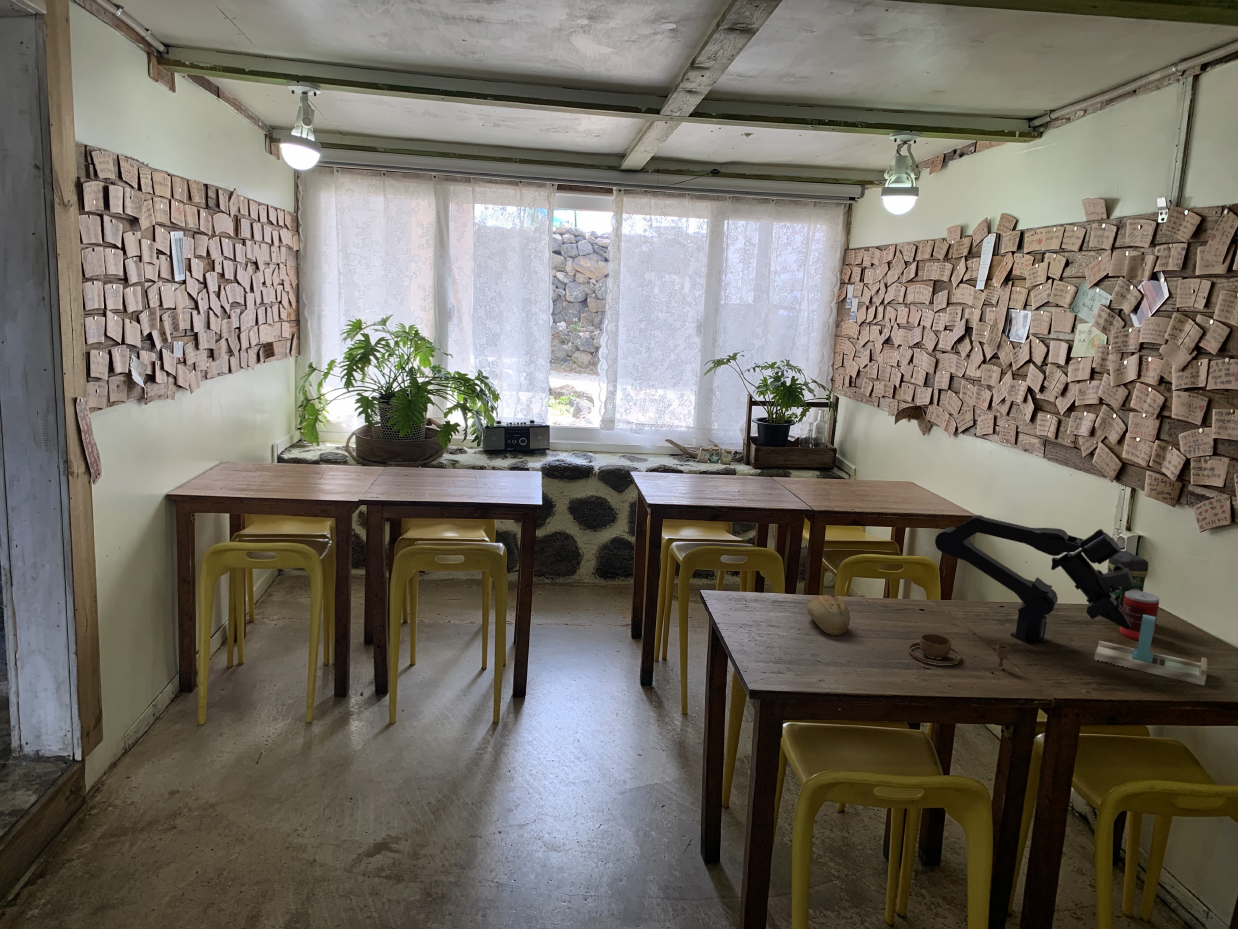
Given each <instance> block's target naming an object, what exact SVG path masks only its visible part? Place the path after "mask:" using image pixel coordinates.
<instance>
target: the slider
mask: <svg viewBox="0 0 1238 929" xmlns="http://www.w3.org/2000/svg"><path fill="white" fill-rule="evenodd" d="M1154 623H1155V617H1154V616H1149V615H1144V614H1143V618H1142V624H1141V630H1140V636H1139V641H1138V643H1137V648H1134V651H1133V656H1132V659H1134V660H1139V661H1143V662H1147V663H1152V659H1153V653H1154V652H1152V651H1151V646H1152V642H1153V641H1152V640H1153V638H1152V636H1153V637H1154V635H1153V629H1154ZM1154 630H1155V629H1154Z"/></svg>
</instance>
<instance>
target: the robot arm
mask: <svg viewBox="0 0 1238 929" xmlns="http://www.w3.org/2000/svg"><path fill="white" fill-rule="evenodd" d="M978 533H979V534H982V535H987V536H991V537H995V538H1000V539H1004V540H1008V541H1013V542H1015V543H1021V544H1025V545H1026V546H1030V547H1032V548H1034V549H1035V550H1037V551H1039V552H1041V553H1043V554H1046V555H1048V556H1051V557H1052V558H1051V568H1050V569H1051V570H1052V571H1054V570H1056V569H1058V568H1059V567H1060V568H1061V569H1062V570H1063V572H1064V573H1065V574H1066V575H1067V576H1068V577H1069V578H1070V580H1071V581H1073V583H1074V584H1075V585H1074V588H1075V589H1076V590H1077V591H1078V590H1080V592H1081V593H1082V594H1083V595H1084V596H1085V597H1086V598H1087V599H1085V600H1086V602H1087V603H1088V605H1087V607H1086V612H1085V613H1086V614H1087V616H1089V618H1090V619H1091V620H1093V619H1096V618H1098V617H1099V616H1100V617H1102V618H1104V619H1106V620H1108V621H1110V622H1112V623H1114V624H1116V625H1117V626H1119V627H1120V626H1121V627H1123V628H1125V629H1129V628H1131V625H1130V623H1129V621H1128V619H1127V617H1126V615H1125V613H1124V612H1123V610H1122V607H1121V605H1120V600H1121V594H1120V595H1118V596H1116V597H1115V596H1114V595H1112V594H1111V593H1112V592H1114V591H1116V590H1117V589H1118V590H1121V588H1122V587H1123V586H1125V587H1127V586H1131V585H1133V582H1134V581H1133V578H1132V576H1131V572H1130V570H1129V569H1128V568H1126V569H1125V568H1124V567H1123V566H1122V565H1121V564H1120V565H1115V566H1114V568H1113V572H1111V571H1110V572H1109V573H1108V572H1105V573H1104V572H1103V571H1102V570H1101V569H1097V568H1095V567H1094V566H1093V565H1092V564H1099V565H1101V564H1103V563H1104V562H1106V561H1109V559H1110V558H1111V557H1113V556H1115V555H1116V554H1118V553H1120V552H1121V551H1122V549H1121V547H1120V545H1119V544H1118V542H1117V541H1116V540H1115V539H1114V538H1113V537H1112V536H1110V534H1108V533H1107V532H1105V531H1104V530H1103V529H1102V528H1099V529H1098V530H1096V531H1095V532H1094V533H1093V534H1091V535H1089V536H1088V537H1086V538H1085V539H1084V538H1080V537H1076V536H1073V535H1070V534H1068V533H1067V532H1066V531H1065V530H1064V529H1062V528H1054V527H1029V526H1024V525H1020V524H1017V523H1016V524H1015V523H1011V522H1006V521H1003V520H999V519H994V518H990V517H985V516H983V515H982V514H981V515H980V514H976V515H973V516H972V517H971V518H969V520H967V521H965V522H963V523H961V524H960V525H957V526H956V527H954V526H953V527H952V526H950V527H946V528H945V529H943V530H942V531H940V532H939V533H938V534H937V535H936V536H935V539H934V544H935V547H936V549H937V550H938V551H939V552H941V553H943V554H945V555H947V556H950V557H951V558H955V559H958V560H960V561H961V560H962V561H965V562H967V563H969V565H971V566H973V567H974V568H975V569H977V570H979V571H980V572H982V573H983V574H985V575H986V576H988V577H990V578H991V579H993V580H994V581H996V582H998V583H999V584H1000V585H1001V586H1003V587H1005V588H1007V589H1008V590H1010V591H1011V592H1013V593H1014V594H1015V595H1016V596H1017V598H1019V600H1020V601H1021V602H1022V603H1021V604H1020V606H1019V608H1018V610H1017V612H1018V613H1017V619H1016V620H1017V621H1016V629H1015V631H1014V632H1010V636H1012V637H1014V638H1016V639H1018V640H1020V641H1023V642H1024V643H1027V644H1029V645H1033V644H1042V643H1048V642H1049V641H1050V640H1049V639H1048V638H1046V637H1045V636H1046V630H1047V615H1049V614H1051V613H1052V612H1053V611H1054V609H1055V607H1056V605H1057V603H1058V599H1059V598H1058V595H1057V592H1056V591H1055V590H1054V589H1053V585H1050V584H1048V583H1046V582H1045V581H1043V580H1042V579H1041V578H1039V577H1038V576H1037V577H1036V578H1035V579H1034V581H1033V580H1030V579H1027V578H1025V577H1023V576H1022V575H1021V574H1018V573H1017V572H1015V571H1013V570H1012V569H1011V568H1009V567H1008V566H1006V565H1005V564H1003V563H1001V562H1000V561H999V560H997V559H995V558H994V557H991V556H990V554H987V553H986V552H984V551H983V550H981V549H979V548H977V547H976V546H975V545H974V543H973V542H972V541H971V540H970V537H972V536H974V535H976V534H978ZM1058 556H1060V557H1058Z"/></svg>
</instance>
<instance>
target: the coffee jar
mask: <svg viewBox="0 0 1238 929" xmlns="http://www.w3.org/2000/svg"><path fill="white" fill-rule="evenodd" d="M1107 561H1108V562H1107V563H1108V564H1107V573H1109V572H1110V571H1111V572H1113V568H1114V566H1115V565H1120V564H1121V565H1122V566H1123V567H1124V568H1125V569H1126V568H1128V569H1129V570H1130V572H1131V576H1132V578H1133V581H1134V582H1133V585H1131V586H1127V587H1125V586H1123V587H1122V588H1121V590H1118V589H1117V590H1116V591H1114V592H1112V593H1111V594H1112V595H1114V596H1115V597H1116V596H1118V595H1120V594H1121V600H1120V605H1121V607H1122V609H1123V603H1124V597H1125V592H1127V591H1142V592H1144V587H1145V580H1146V578H1147V576H1148V572H1149V561H1148V560H1147V559H1145V558H1143V557H1140V556H1138V555H1135V554H1133V553H1131V552H1130V551H1128V550H1121V552H1120V553H1118V554H1116V555H1115V556H1113V557H1111V558H1110V559H1108V560H1107Z"/></svg>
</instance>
